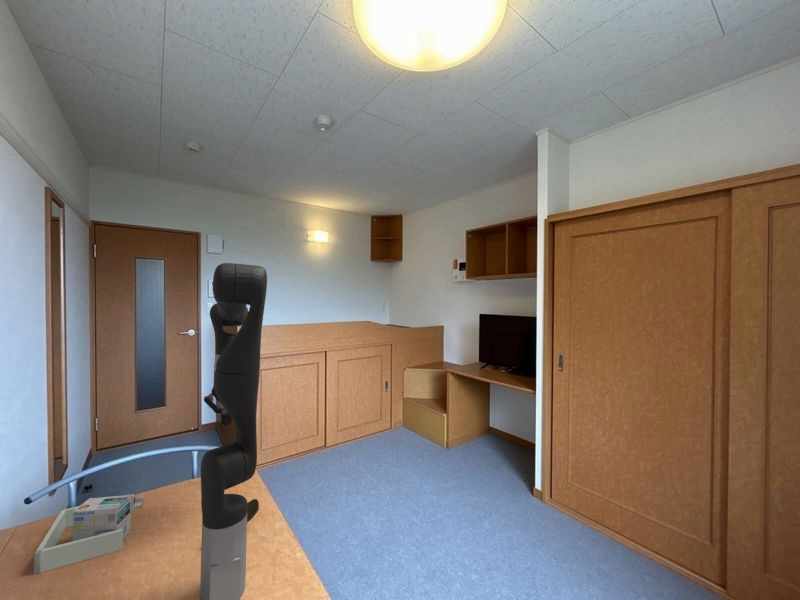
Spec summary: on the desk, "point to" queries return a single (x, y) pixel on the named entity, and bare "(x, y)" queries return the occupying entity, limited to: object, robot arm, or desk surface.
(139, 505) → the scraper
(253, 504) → the hand tool
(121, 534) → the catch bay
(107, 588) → the desk surface
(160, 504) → the desk surface
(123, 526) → the light bulb box
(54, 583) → the desk surface
